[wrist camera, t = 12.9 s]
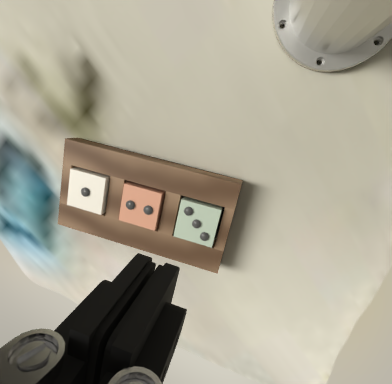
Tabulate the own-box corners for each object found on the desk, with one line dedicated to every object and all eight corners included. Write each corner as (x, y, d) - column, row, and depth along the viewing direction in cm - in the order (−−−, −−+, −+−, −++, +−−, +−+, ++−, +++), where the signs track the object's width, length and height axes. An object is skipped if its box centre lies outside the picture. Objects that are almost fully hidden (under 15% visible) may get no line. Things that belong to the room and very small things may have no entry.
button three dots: (187, 193, 36) (181, 199, 33) (224, 203, 35) (221, 210, 32) (179, 227, 38) (173, 236, 35) (215, 238, 37) (211, 248, 34)
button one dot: (84, 165, 38) (69, 168, 35) (117, 174, 38) (105, 178, 35) (80, 198, 40) (66, 205, 37) (112, 208, 39) (100, 215, 36)
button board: (77, 137, 38) (65, 138, 35) (242, 180, 34) (241, 184, 32) (69, 218, 41) (57, 223, 39) (219, 264, 38) (217, 273, 35)
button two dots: (134, 178, 37) (123, 183, 34) (169, 188, 37) (161, 194, 34) (128, 213, 39) (118, 220, 36) (162, 222, 38) (154, 231, 35)
